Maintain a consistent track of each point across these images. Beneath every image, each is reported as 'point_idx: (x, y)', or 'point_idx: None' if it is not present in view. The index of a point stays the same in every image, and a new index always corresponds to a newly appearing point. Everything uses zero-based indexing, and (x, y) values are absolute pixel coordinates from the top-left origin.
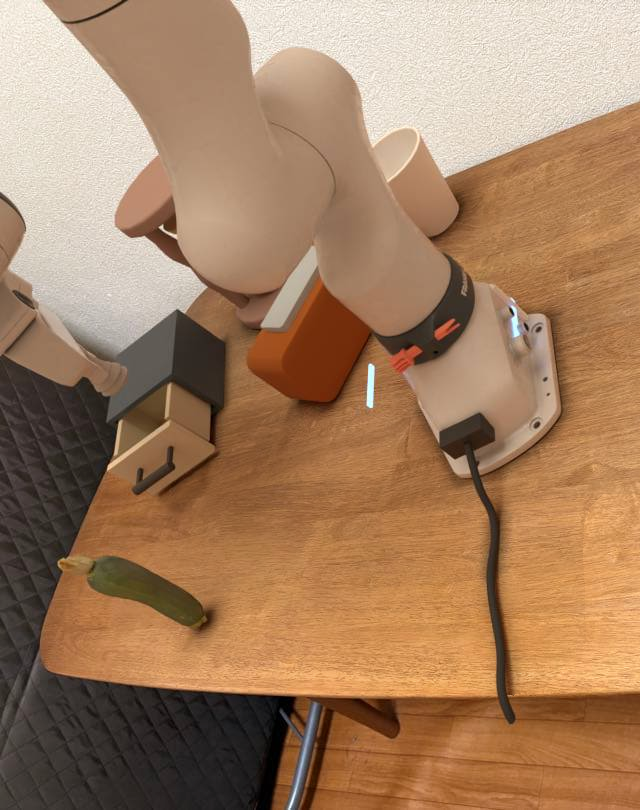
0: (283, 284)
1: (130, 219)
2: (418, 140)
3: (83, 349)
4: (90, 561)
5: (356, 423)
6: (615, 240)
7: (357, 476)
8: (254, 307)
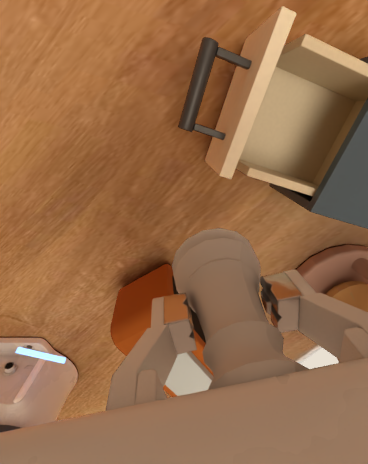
0: None
1: None
2: None
3: (310, 337)
4: None
5: (77, 295)
6: None
7: (16, 279)
8: (334, 271)
